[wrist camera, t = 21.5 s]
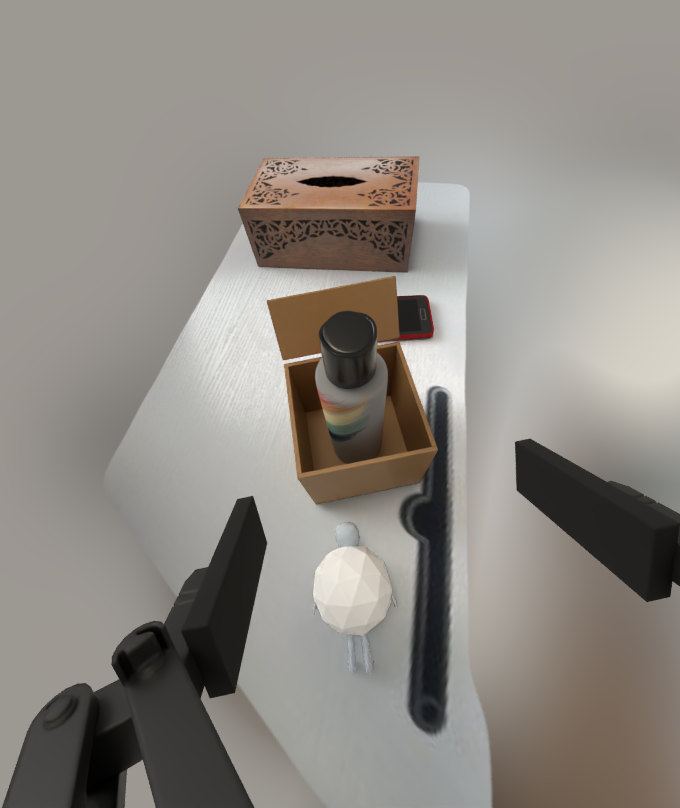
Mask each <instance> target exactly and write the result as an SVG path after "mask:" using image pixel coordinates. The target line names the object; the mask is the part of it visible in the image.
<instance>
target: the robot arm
mask: <svg viewBox="0 0 680 808" xmlns="http://www.w3.org/2000/svg"><path fill="white" fill-rule="evenodd" d="M515 450H516V451H515V453H516V483H517V491H518V492H519V493H521V494H522V495H523V496H524V497H525V498H527V499H528V500H529V501H530V502H531V503H532V504H533V505H535V506H536V507H537V508H538V509H539V510H540V511H542V512H543V513H544V514H545V515H546V516H547V517H549V518H550V519H551V520H552V521H553V522H554V523H555V524H557V525H558V526H559V527H560V528H561V529H562V530H564V531H565V532H566V533H567V534H568V535H570V536H571V537H572V538H573V539H574V540H575V541H577V542H578V543H579V544H580V545H581V546H583V547H584V548H585V549H586V550H587V551H588V552H589V553H590V554H592V555H593V556H594V557H595V558H596V559H598V560H599V561H600V562H601V563H602V564H603V565H605V566H606V567H607V568H608V569H609V570H610V571H611V572H613V573H614V574H615V575H616V576H617V577H618V578H620V579H621V580H622V581H623V582H624V583H625V584H627V585H628V586H629V587H630V588H631V589H632V590H633V591H635V592H636V593H637V594H638V595H639V596H641V597H642V598H643V599H644V600H645V601H646V602H649V601H653V600H658V599H662V598H667V597H670V595H671V587H672V581H673V582H675V583H676V584H677V585H679V586H680V514H679V513H677V512H675V511H673V510H671V509H669V508H668V507H666V506H664V505H662V504H660V503H656V502H655V500H653V499H651V498H649V497H647V496H644V495H643V494H642V493H640V492H638V491H636V490H634V489H632V488H631V487H629V486H625V485H622V484H619V483H616V482H613V481H609V482H606V481H604V480H602V479H600V478H599V477H597V476H595V475H594V474H592V473H590V472H588V471H586V470H585V469H583V468H581V467H579V466H578V465H576V464H574V463H572V462H570V461H569V460H567V459H565V458H563V457H562V456H560V455H558V454H556V453H555V452H553V451H551V450H549V449H547V448H546V447H544V446H542V445H540V444H539V443H537V442H535V441H533V440H532V439H526V440H521V441H516V442H515ZM266 546H267V541H266V537H265V534H264V531H263V527H262V524H261V521H260V517H259V514H258V511H257V508H256V504H255V501H254V498H253V496H250V497H246V498H241V499H237V501H236V504H235V506H234V508H233V511H232V513H231V515H230V518H229V520H228V522H227V525H226V527H225V529H224V532H223V534H222V536H221V539H220V541H219V543H218V546H217V548H216V550H215V552H214V555H213V557H212V559H211V562H210V564H209V566H208V567H206V568H201V569H197V570H195V571H194V572H193V573H192V574H191V576H190V577H189V578H188V579H187V580H186V581H185V583H184V585H183V587H182V589H181V591H180V593H179V596H178V597H177V599H176V601H175V603H174V607H172V609H171V611H170V613H169V615H168V617H167V619H166V621H165V623H164V624H163V623H162V622H159V621H153V622H149V623H146V624H143V625H142V626H140V627H138V628H136V629H135V630H133V631H132V632H131V633H130V634H129V635H127V636H126V637H125V638H124V639H123V640H122V642H121V643H120V644H119V645H118V647H117V648H116V650H115V652H114V654H113V656H112V666H113V668H114V670H115V672H116V674H117V676H118V677H119V680H117V681H115V682H113V683H111V684H109V685H107V686H105V687H103V688H101V689H99V690H97V691H96V692H93V690H92V689H91V687H90V686H89V685H87V684H86V683H82V684H76V685H74V686H72V687H69V688H67V689H65V690H64V691H62V692H61V693H59V694H58V695H56V696H55V697H54V698H53V699H52V700H51V701H49V703H47V704H46V705H45V706H44V707H43V708H42V709H41V711H40V712H39V713H38V715H37V716H36V717H35V718H34V720H33V721H32V723H31V725H30V727H29V730H28V731H27V734H26V737H25V740H24V743H23V746H22V749H21V752H20V755H19V758H18V761H17V764H16V767H15V770H14V773H13V776H12V779H11V782H10V785H9V789H8V791H7V794H6V798H5V800H4V804H3V807H2V808H124V807H125V790H126V775H127V769H128V768H130V767H131V766H133V765H135V764H136V763H138V762H140V761H141V760H143V762H144V765H145V769H146V773H147V776H148V780H149V784H150V788H151V791H152V795H153V798H154V803H155V806H156V808H254V806H253V804H252V802H251V800H250V798H249V797H248V794H247V792H246V790H245V788H244V786H243V784H242V782H241V780H240V778H239V776H238V774H237V772H236V770H235V768H234V766H233V764H232V762H231V760H230V758H229V756H228V754H227V751H226V749H225V747H224V745H223V743H222V742H221V740H220V737H219V735H218V733H217V731H216V729H215V727H214V725H213V723H212V721H211V719H210V717H209V715H208V713H207V711H206V709H205V707H204V705H203V703H202V701H201V695H202V692H203V689H204V686H205V687H206V690H207V692H208V695H209V697H210V698H214V697H218V696H223V695H227V694H232V693H235V689H236V685H237V681H238V676H239V671H240V667H241V662H242V657H243V653H244V648H245V643H246V639H247V634H248V629H249V625H250V620H251V615H252V611H253V606H254V601H255V597H256V592H257V587H258V583H259V578H260V573H261V569H262V564H263V560H264V555H265V550H266Z"/></svg>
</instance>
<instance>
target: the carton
mask: <svg viewBox="0 0 680 808" xmlns="http://www.w3.org/2000/svg"><path fill="white" fill-rule="evenodd" d="M377 353H378V354H379V355H380V356H381V357H382V358H383V360H384V362H385V364H386V367H387V371H388V381H387V392H386V402H385V412H384V421H383V431H382V440H381V447H380V450H379V453H378V454H377V456H376V457H375V458H374V459H370V460H365V461H360V462H355V463H350V464H346V463H344V462H343V461H342V460H340V459H339V458H338V456H337V455H336V453H335V451H334V448H333V445H332V442H331V438H330V434H329V431H328V427H327V423H326V420H325V416H324V412H323V408H322V405H321V401H320V397H319V394H318V390H317V385H316V380H315V373H316V368H317V365H318V363H319V361H320V360H321V359H322V357H319V358H314V359H309V360H303V361H298V362H293V363H288V364H284V368H285V377H286V385H287V394H288V402H289V411H290V419H291V427H292V436H293V444H294V453H295V461H296V470H297V478H298V480H299V481H300V483H301V484H302V485H303V487H304V488H305V490H306V491H307V492H308V494H309V495H310V497H311V498H312V499H313V501H314V502H315V504H319V503H324V502H329V501H334V500H338V499H343V498H348V497H353V496H358V495H363V494H368V493H373V492H377V491H382V490H387V489H392V488H397V487H402V486H407V485H411V484H416V483H420V481H421V479H422V478H423V476H424V474H425V472H426V470H427V469H428V467H429V465H430V463H431V462H432V460H433V458H434V456H435V454H436V453H437V451H438V449H437V446H436V443H435V440H434V438H433V435H432V432H431V429H430V426H429V424H428V421H427V418H426V415H425V413H424V410H423V407H422V404H421V401H420V399H419V396H418V393H417V390H416V387H415V385H414V382H413V379H412V376H411V373H410V371H409V368H408V365H407V362H406V360H405V357H404V354H403V351H402V348H401V346H400V343H399V342H396V343H390V344H385V345H380V346H377Z"/></svg>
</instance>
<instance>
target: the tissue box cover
mask: <svg viewBox="0 0 680 808" xmlns="http://www.w3.org/2000/svg"><path fill="white" fill-rule="evenodd" d="M418 170H419V157H344V158H343V157H340V158H339V157H338V158H264V159H263V161H262V163H261V165H260V167H259V169H258V170H257V172H256V174H255V176H254V178H253V180H252V182H251V184H250V186H249V188H248V190H247V192H246V193H245V195H244V197H243V199H242V201H241V203H240V205H239V207H238V210H239V213H240V216H241V219H242V221H243V224H244V227H245V230H246V233H247V236H248V239H249V241H250V244H251V247H252V250H253V253H254V256H255V258H256V261H257V264H258V267H281V268H307V269H333V270H360V271H386V272H408V265H409V257H410V250H411V242H412V235H413V227H414V220H415V212H416V199H417V184H418Z"/></svg>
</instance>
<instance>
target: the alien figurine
mask: <svg viewBox="0 0 680 808" xmlns="http://www.w3.org/2000/svg"><path fill="white" fill-rule="evenodd" d="M335 537H336V541H337V543H338V545H339V547H340V548H338V549H336V550H333V551H331V552H329V553H328V554H327V555H326V557H325V558H324V560H323V561H322V562H321V564H320V565H319V567H318V568H317V569H316V571H315V579H314V590H313V598H314V600H315V604H314V606H313V614H314V615H315V609H317V607H318V609H319V612H320V614H321V617H322V619H323V621H324V622H326V623H327V624H328V625H329V626H330V627H332V628H333V629H334V630H335V631H336V632H338V633H342V634H348V659H349V662H348V665H349V672H350V674H351V675H353V674H355V673H356V663H355V646H354V636H353V635H361V638H362V648H363V655H364V661H365V667H366V672H367V673H371V672H372V670H373V663H374V661H373V660H372V659H371V655H370V648H369V643H368V639H367V635H366V633H367V632H368V631H370V630H371V629H372V628H373V627H374V626H376V625H377V624H378V623H379V622H380V621H382V620H383V619H384V618H385V616H386V613H387V611H388V609H389V606H390V604H391V598H392V599H393V602H394V606H395V607H396V608H397V602H396V599H395V598H394V596H393V594H392V587H391V583H390V579H389V576H388V573H387V570H386V567H385V563H384V561H383V560H381V559H380V558H379V557H378V556H377V555H375V554H374V553H373V552H372V551H371V550H370V549H368V548H367V547H366V546H359V545H358V541H359V538H360V537H359V531H358V528H357V526H356V525H355V524H353V523H350V522H345V523H342V524H340V525H338V526H337V528H336V531H335ZM371 660H372V663H371Z"/></svg>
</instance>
